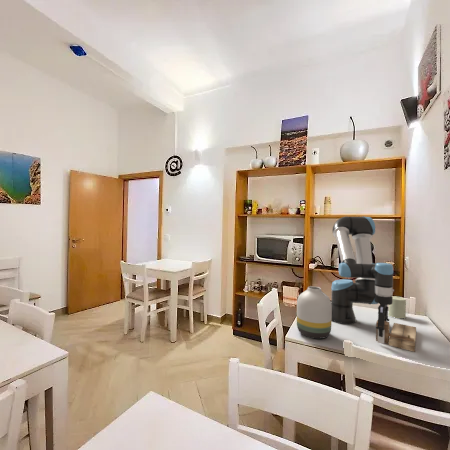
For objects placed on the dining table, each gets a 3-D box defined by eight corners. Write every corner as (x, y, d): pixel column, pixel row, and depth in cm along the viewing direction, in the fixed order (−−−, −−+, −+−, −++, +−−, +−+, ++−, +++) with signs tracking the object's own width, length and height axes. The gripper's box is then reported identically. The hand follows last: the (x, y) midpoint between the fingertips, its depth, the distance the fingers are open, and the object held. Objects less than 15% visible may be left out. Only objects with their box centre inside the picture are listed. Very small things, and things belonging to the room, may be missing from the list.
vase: (331, 344, 124) (332, 293, 124) (294, 338, 130) (295, 289, 130) (330, 330, 140) (331, 285, 140) (297, 326, 146) (298, 282, 146)
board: (388, 345, 124) (388, 339, 124) (393, 327, 147) (393, 322, 147) (414, 351, 118) (414, 345, 118) (416, 331, 141) (416, 327, 141)
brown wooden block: (376, 341, 129) (376, 322, 129) (377, 337, 133) (377, 319, 133) (413, 350, 120) (414, 330, 120) (414, 346, 124) (414, 327, 124)
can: (405, 315, 166) (405, 296, 165) (406, 320, 158) (406, 300, 158) (388, 313, 170) (388, 294, 170) (388, 317, 163) (388, 297, 163)
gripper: (389, 302, 117) (388, 349, 117) (394, 291, 137) (393, 331, 137) (370, 298, 121) (369, 344, 121) (378, 288, 141) (377, 328, 141)
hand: (382, 338), depth 129 cm, fingers open, 13 cm apart
